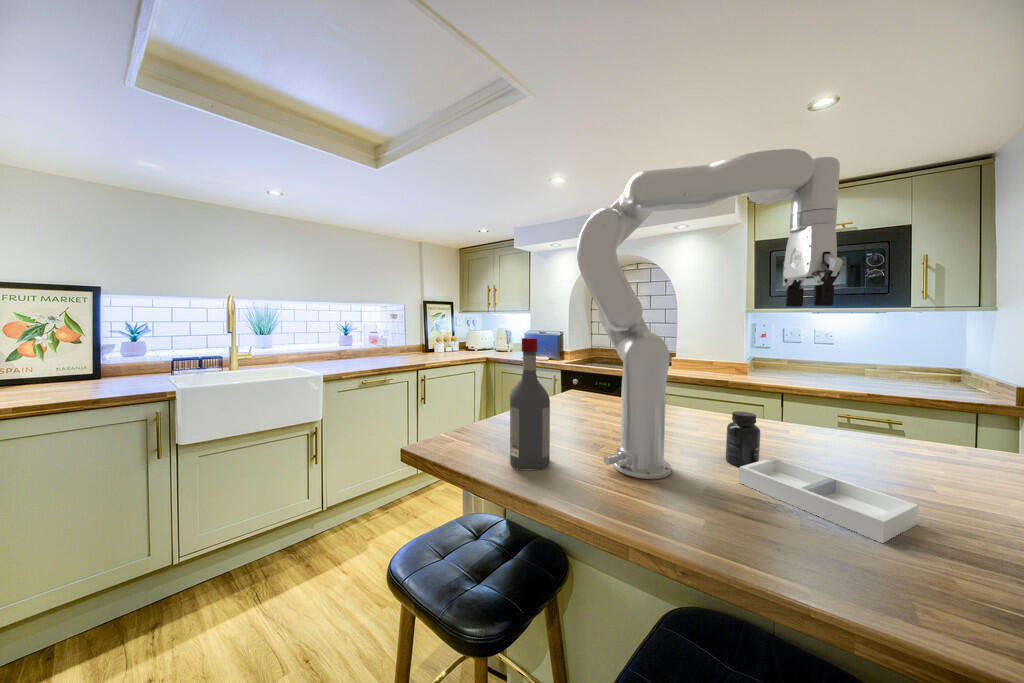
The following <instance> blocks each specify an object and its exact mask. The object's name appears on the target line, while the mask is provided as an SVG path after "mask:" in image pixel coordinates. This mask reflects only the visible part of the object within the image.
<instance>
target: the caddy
mask: <svg viewBox="0 0 1024 683" xmlns="http://www.w3.org/2000/svg"><path fill="white" fill-rule="evenodd" d="M738 468H739V469H738V484H740V483H741V484H740V485H742V484H744V485H743V486H745V485H746V486H745V487H747V486H748V487H747V488H750V489H752V488H753V490H754V489H755V490H754V491H757V492H759V491H760V493H761V492H762V494H763V495H766V496H768V497H771V498H773V497H774V498H773V499H777V500H778V501H780V500H781V502H783V501H784V502H783V503H785V502H786V504H787V505H790V504H791V505H790V506H792V505H793V506H792V507H795V508H797V507H798V508H797V509H799V508H800V510H802V511H804V510H805V512H806V511H807V513H809V514H811V513H812V514H811V515H814V516H816V515H817V517H818V516H819V517H818V518H821V519H823V518H824V519H823V520H825V519H826V521H828V520H829V521H828V522H830V521H831V523H832V524H835V525H837V524H838V525H837V526H840V527H842V528H844V527H845V529H847V530H849V529H850V530H849V531H851V530H852V532H854V531H855V532H854V533H856V532H857V534H859V535H861V536H863V535H864V537H866V538H868V537H869V539H870V538H871V540H873V541H875V540H876V542H878V543H880V542H881V543H880V544H882V543H883V544H884V543H886V542H887V541H890V540H892V539H894V538H895V537H897V536H899V535H900V533H901V534H902V532H903V533H905V532H906V531H908V530H910V529H911V528H913V527H915V526H917V524H918V513H919V505H918V503H913V502H911V501H907V500H905V499H902V498H898V497H895V496H892V495H889V494H887V493H884V492H880V491H876V490H874V489H870V488H868V487H866V486H861V485H859V484H855V483H852V482H850V481H847V480H844V479H841V478H837V477H835V476H832V475H829V474H826V473H822V472H820V471H817V470H814V469H810V468H808V467H804V466H801V465H799V464H796V463H793V462H789V461H786V460H783V459H780V458H777V457H774V456H773V457H770V458H766V459H763V460H759V462H755V463H751V464H748V465H744V466H740V467H739V466H738ZM898 534H899V535H898ZM896 535H897V536H896ZM893 537H894V538H893ZM891 538H892V539H891ZM889 539H890V540H889Z"/></svg>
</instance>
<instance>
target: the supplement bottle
mask: <svg viewBox="0 0 1024 683" xmlns="http://www.w3.org/2000/svg"><path fill="white" fill-rule="evenodd" d="M731 420H732V422H730V423H728V424H727V427H726V437H725V438H726V439H725V440H726V441H725V460H726V461H727V463H729V464H731V465H733V466H736V467H739V466H744V465H748V464H751V463H755V462H759V461H760V448H761V429H760V427H759V426H758V425H756V424H757V415H756V414H755V413H753V412H752V413H751V412H746V411H733V412H732V415H731Z"/></svg>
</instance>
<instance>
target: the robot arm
mask: <svg viewBox="0 0 1024 683" xmlns="http://www.w3.org/2000/svg"><path fill="white" fill-rule="evenodd" d="M840 168H841V162H840V160H839V159H838V158H837V157H834V156H821V157H815V158H814V157H812V155H810V154H809V153H808V152H806V151H804V150H801V149H796V148H779V149H778V148H777V149H768V150H759V151H755V152H748V153H745V154H740V155H737V156H734V157H729V158H726V159H722V160H718V161H714V162H710V163H708V164H703V165H693V166H683V167H672V168H662V169H661V168H660V169H651V170H642V171H640V172H639V171H638V172H637V173H635V174H633V175H632V176H631V177H630V178H629V180H628V181H627V183H626V185H625V187H624V190H623V191H622V193H621V194H620V196H619V197H618V198H617V199H616V200H615V201H614V202H613V203H612V204H611V206H609V207H608V206H607V207H606V206H605V207H601V208H599V209H597V210H595V211H594V212H593V213H592V214H591V215H590V216H589V217H588V219H587V220H586V221H585V223H584V225H583V227H582V229H581V231H580V233H579V236H578V241H577V245H576V259H577V260H576V261H577V266H578V268H579V272H580V274H581V277H582V280H583V281H584V283H585V285H586V287H587V289H588V292H589V293H590V296H591V298H592V299H593V301H594V303H595V306H596V307H597V316H598V320H599V322H600V324H601V325H602V327H603V330H604V331H605V333H606V335H607V336H608V338H609V340H610V342H611V345H612V346H613V347H614V349H615V351H616V353H617V354H618V357H619V358H620V360H621V361H622V375H621V376H622V377H621V394H620V395H621V397H620V399H621V400H620V401H621V407H620V408H621V410H620V447H617V448H616V452H615V453H614V454H610V455H605V456H604V457H603V463H604V465H606V466H610V465H613V467H614V468H615V469H616V470H617V471H618V472H620V473H622V474H623V475H626V476H629V477H632V478H637V479H645V480H658V479H664V478H666V477H668V476H669V475H670V474H671V473H672V466H671V464H670V463H669V462H668V461H666V460H665V438H666V437H665V435H666V433H665V432H666V431H665V430H666V429H665V427H666V395H667V394H666V393H667V391H666V390H667V381H668V380H667V379H668V375H669V374H668V373H669V367H670V350H669V348H668V345H667V344H666V342H665V340H664V339H663V338H661V336H660V335H658V334H656V333H654V332H651V330H650V329H649V328H648V325H647V324H646V321H645V320H644V318H643V312H644V311H643V305H642V303H641V301H640V299H639V298H638V296H637V294H636V293H635V292H634V289H633V288H632V286H631V284H630V282H629V281H628V279H627V277H626V275H625V273H624V271H623V268H622V267H621V265H620V263H619V260H618V256H617V248H618V247H619V246H620V245H622V244H623V242H624V241H626V240H627V239H628V238H629V237H630V235H632V234H633V233H634V232H635V231H636V230H637V229H638V228H639V227H640V226H641V225H642V224H643V223H644V222H645V221H646V220H647V219H648V218H649V217H650V216H651V214H652V213H653V212H662V211H664V212H665V211H675V210H676V211H677V210H678V211H679V210H689V209H691V210H693V209H700V208H705V207H707V206H712V205H715V204H716V203H720V202H722V201H725V200H727V199H729V198H732V197H736V196H740V195H744V194H746V196H747V198H748V199H749V200H750V201H751V202H752V203H755V204H759V205H767V204H768V205H770V204H774V203H775V204H776V203H779V202H785V201H790V216H789V217H790V218H789V219H790V220H789V235H788V239H787V243H786V248H785V255H784V264H783V273H782V274H783V278H784V279H783V281H784V283H785V286H784V288H785V289H786V290H785V307H788V308H789V307H795V308H797V307H798V308H799V307H800V308H801V307H803V305H804V290H805V289H804V288H803V285H804V283H805V281H806V280H811V279H814V280H815V282H816V284H817V285H814V286H813V287H814V288H813V301H812V302H813V303H812V304H813V306H815V307H817V306H818V307H819V306H820V307H823V306H824V307H828V306H829V307H831V306H833V305H834V300H835V299H834V297H835V296H834V295H835V286H836V284H837V279H838V277H839V276H840V270H841V268H842V265H843V262H844V261H843V259H841V258H839V257H837V256H838V250H837V249H838V248H837V247H838V245H837V244H838V243H837V240H838V239H837V229H836V228H837V219H838V218H837V217H838V215H837V214H838V200H839V188H840V187H839V185H840V173H841V170H840Z"/></svg>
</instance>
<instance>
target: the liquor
mask: <svg viewBox="0 0 1024 683" xmlns="http://www.w3.org/2000/svg"><path fill="white" fill-rule="evenodd" d="M521 352H522V374H521V378H520V379H519V381H518V382H517V383H516V385H514V387H513V388H512V389H511V391H510V394H509V455H510V456H509V458H510V460H509V461H510V462H509V463H510V465H511V467H512V466H513V467H512V468H514V467H515V469H516V468H518V469H517V470H519V469H541V470H543V469H545V467H546V468H548V467H549V465H550V455H551V454H550V453H551V452H550V446H551V444H550V443H551V442H550V440H551V439H550V437H551V434H550V433H551V429H550V428H551V426H550V425H551V424H550V422H551V409H550V408H551V399H550V396H549V394H548V392H547V390H546V389H545V387H544V386H543V385H542V383H541V382H540V381H539V379H538V376H537V352H538V338H535V337H522V338H521ZM547 466H548V467H547Z"/></svg>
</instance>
